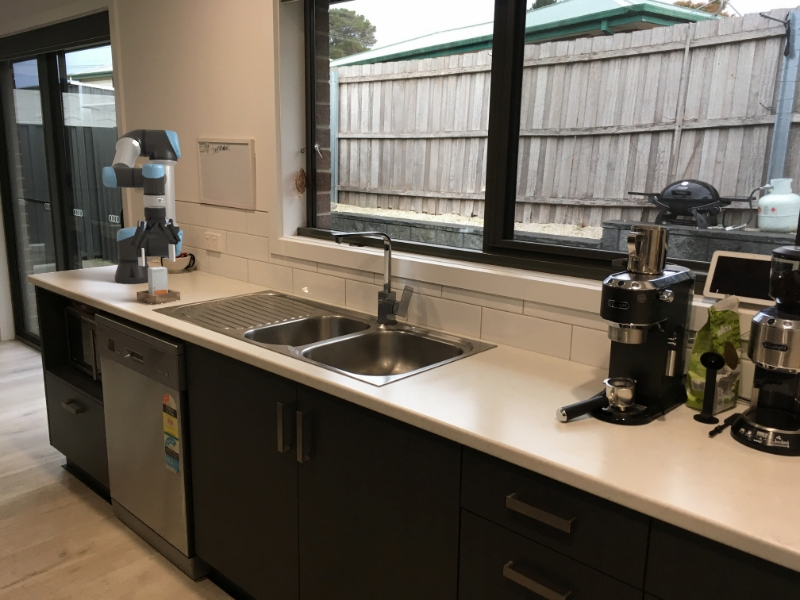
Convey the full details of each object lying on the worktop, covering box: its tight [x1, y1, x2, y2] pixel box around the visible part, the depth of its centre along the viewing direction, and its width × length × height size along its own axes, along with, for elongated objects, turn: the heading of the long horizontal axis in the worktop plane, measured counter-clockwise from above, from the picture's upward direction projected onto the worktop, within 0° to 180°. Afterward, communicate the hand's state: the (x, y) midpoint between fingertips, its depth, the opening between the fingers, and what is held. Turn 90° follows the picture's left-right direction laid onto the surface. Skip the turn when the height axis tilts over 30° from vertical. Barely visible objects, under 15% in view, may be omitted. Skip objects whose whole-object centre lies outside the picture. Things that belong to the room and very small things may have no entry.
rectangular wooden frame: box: [136, 289, 181, 305], centre depth 243 cm, size 11×11×3 cm
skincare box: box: [147, 266, 169, 295], centre depth 242 cm, size 6×4×12 cm
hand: (157, 263), depth 240 cm, fingers open, 13 cm apart
